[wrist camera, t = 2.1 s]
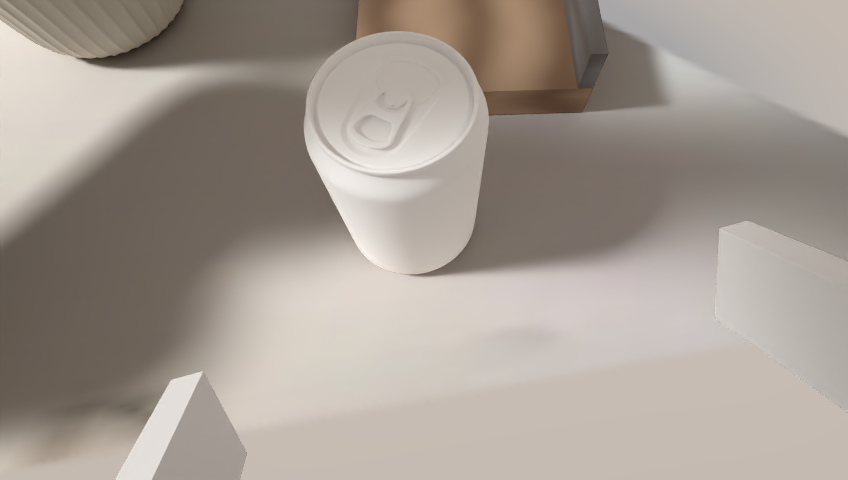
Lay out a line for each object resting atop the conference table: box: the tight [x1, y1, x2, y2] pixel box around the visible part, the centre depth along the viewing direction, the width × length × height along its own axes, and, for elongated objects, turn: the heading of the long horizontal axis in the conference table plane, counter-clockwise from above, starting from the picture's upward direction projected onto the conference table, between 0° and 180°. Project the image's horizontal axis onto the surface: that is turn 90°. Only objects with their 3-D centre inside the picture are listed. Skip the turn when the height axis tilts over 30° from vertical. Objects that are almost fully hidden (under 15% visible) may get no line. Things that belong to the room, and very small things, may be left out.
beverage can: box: [304, 31, 489, 274], centre depth 24 cm, size 8×8×12 cm
